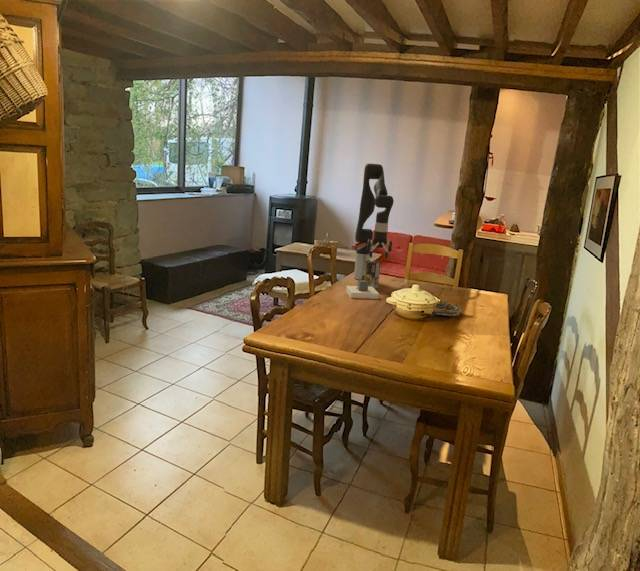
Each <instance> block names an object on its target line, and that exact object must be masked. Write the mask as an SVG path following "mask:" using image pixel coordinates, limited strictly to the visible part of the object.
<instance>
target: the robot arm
mask: <svg viewBox="0 0 640 571" xmlns="http://www.w3.org/2000/svg"><path fill="white" fill-rule="evenodd" d="M370 180H377V181H376V182H375V183H374V186H373V191H372V188H371V185H370ZM362 181H363V182H362V184H363V185H362V191H361V199H360V204H359V212H358V213H359V214H358V219H357V226H356V228H355V229H356V231H355V236H354V240H355V242H356V243H359V244H360V243H362V244H364V245H362V246H360V247H357V248H356V250H355V252H356V253H355V262H354V272H353V273H354V274H353V278H354V279H355V280H357V281H360V280H362V273H363V262H364V261H367V260H370V259H372V258H373V251H374V250H375V249H376V248H377V249H382V248H383V250H384V259H387V258H388V256H389V252H392V247H393V246H392V244H393V243H392V242H393V241H392V240H387V238H388V231H389V217H390V213H391V210H392V208H393V206H394V198H393V196H392V195H388V189H387V186H386V184H385V183H386V182H385V174H384V167H383V165H382V164H379V163H366V164H365V166H364V171H363V180H362ZM373 192H374V193H375V195H374V193H373ZM376 207H377V208H380V209H382V208H383V209H384V210H382V211H379V212H376V216H375V217H376V218H375V225H374V230H373V229H371V228H370V229H369V228H364V225H365V224H366V222H367V220H369V219H370V217H371V216H372V214H373V213H374V212H375V208H376ZM386 245H388V248H387V246H386ZM370 261H371V260H370Z"/></svg>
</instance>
